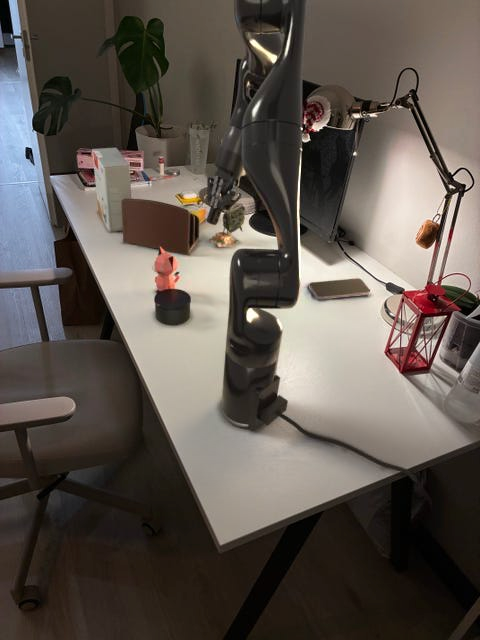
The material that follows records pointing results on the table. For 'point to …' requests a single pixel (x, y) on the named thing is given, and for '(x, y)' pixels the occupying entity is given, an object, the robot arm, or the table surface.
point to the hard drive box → (111, 185)
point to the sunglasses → (198, 212)
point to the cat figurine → (165, 270)
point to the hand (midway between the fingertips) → (211, 223)
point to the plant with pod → (230, 225)
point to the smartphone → (339, 288)
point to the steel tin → (172, 306)
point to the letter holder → (159, 225)
